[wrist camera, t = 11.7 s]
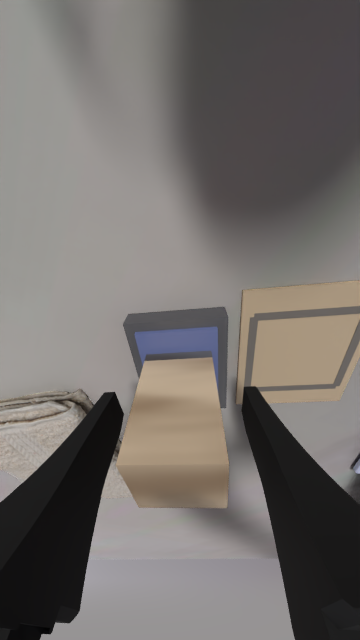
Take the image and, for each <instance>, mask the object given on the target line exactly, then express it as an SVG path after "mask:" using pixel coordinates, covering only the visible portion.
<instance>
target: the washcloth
mask: <svg viewBox="0 0 360 640" xmlns="http://www.w3.org/2000/svg"><path fill="white" fill-rule="evenodd" d="M92 407H93V405H92V403H91V401H90V400H89V399H88V397H87V395H86V394H85V393H84V392H83V391H82V389H78V390H77V391H76V392H73V393H68V392H60V391H50V392H42V393H35V394H31V395H27V396H23V397H19V398H12V399H3V400H0V470H1V471H4V472H6V473H8V474H10V475H12V476H14V477H15V478H16V479H18V480H19V481H20V482H21V483H23V482H24V481H25V480H26V479H27V478H28V477H29V476H30V475H32V474H33V473H34V472H35V471H36V470H37V469H38V468H39V467H40V466H41V465H42V464H43V463H44V462H45V461H46V460H47V459H48V458H49V457H50V456H51V455H52V454H53V453H54V452H55V451H56V449H57V448H58V447H59V446H60V445H61V444H62V443H63V442H64V441H65V439H66V438H67V437H68V436H69V435H70V434H71V433H72V432H73V430H74V429H75V428H76V427H77V426H78V425H79V423H80V422H81V421H82V420H83V419H84V417H85V416H86V415H87V414H88V412H89V411H90V410H91V409H92ZM121 444H122V443H121V442H120V440H119V439H118V442H117V445H116V448H115V452H114V455H113V458H112V461H111V464H110V467H109V470H108V474H107V477H106V480H105V484H104V487H103V491H102V495H101V498H102V497H104V498H109V499H110V498H122V497H123V498H124V497H126V498H127V497H132V494H131V492H130V490H129V489H128V487H127V485H126V483H125V481H124V480H123V478H122V476H121V474H120V472H119V471H118V469H117V467H116V462H117V458H118V455H119V451H120V448H121Z"/></svg>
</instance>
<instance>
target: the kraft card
mask: <svg viewBox="0 0 360 640" xmlns="http://www.w3.org/2000/svg"><path fill="white" fill-rule="evenodd" d="M359 357H360V280H358V281H346V282H334V283H322V284H310V285H298V286H286V287H274V288H262V289H250V290H242V304H241V321H240V338H239V355H238V372H237V389H236V404H242V401H243V389H244V387H247V386H256V387H257V388H258V390H259V391H260V393H261V394H262V396H263V397H264V399H265V400H266V402H267V403H290V402H318V401H339V400H340V398H341V396H342V394H343V392H344V390H345V388H346V385H347V383H348V381H349V379H350V377H351V375H352V372H353V370H354V368H355V366H356V364H357V362H358V360H359Z"/></svg>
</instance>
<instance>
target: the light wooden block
mask: <svg viewBox="0 0 360 640" xmlns="http://www.w3.org/2000/svg"><path fill="white" fill-rule="evenodd" d="M116 467H117V469H118V471H119V472H120V474H121V476H122V478H123V480H124V481H125V483H126V485H127V487H128V489H129V490H130V492H131V494H132V496H133V498H134V499H135V501H136V503H137V505H138V507H139V508H227V504H228V481H229V459H228V453H227V447H226V440H225V434H224V428H223V421H222V415H221V409H220V402H219V396H218V390H217V383H216V377H215V371H214V364H213V358H212V352H211V351H196V352H179V353H162V354H146V357H145V361H144V364H143V368H142V372H141V375H140V379H139V382H138V386H137V390H136V393H135V397H134V400H133V404H132V408H131V411H130V415H129V419H128V422H127V426H126V429H125V433H124V437H123V440H122V444H121V448H120V451H119V455H118V458H117V462H116Z"/></svg>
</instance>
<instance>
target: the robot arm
mask: <svg viewBox="0 0 360 640" xmlns="http://www.w3.org/2000/svg"><path fill="white" fill-rule="evenodd" d="M242 415H243V420H244V424H245V429H246V433H247V436H248V439H249V443H250V446H251V449H252V452H253V456H254V459H255V462H256V465H257V469H258V472H259V475H260V478H261V482H262V486H263V489H264V494H265V498H266V502H267V507H268V511H269V515H270V520H271V525H272V529H273V534H274V538H275V543H276V548H277V553H278V558H279V562H280V567H281V572H282V576H283V582H284V587H285V592H286V597H287V603H288V607H289V613H290V618H291V624H292V629H293V633H294V637H295V640H360V505H359V504H358V503H357V502H356V501H355V500H354V499H353V498H352V497H351V496H350V495H349V494H348V493H347V492H345V491H344V490H343V489H342V488H341V487H340V486H339V485H338V484H337V483H336V482H335V481H334V480H333V479H332V478H331V477H330V476H329V475H328V474H327V473H326V472H325V471H324V470H323V469H322V468H321V467H320V466H319V465H318V464H317V462H316V461H315V460H314V459H313V458H312V457H311V456H310V455H309V454H308V453H307V452H306V451H305V449H304V448H303V447H302V446H301V445H300V444H299V443H298V441H297V440H296V439H295V438H294V437H293V436H292V434H291V433H290V432H289V431H288V429H287V428H286V427H285V426H284V424H283V423H282V422H281V421H280V419H279V418H278V417H277V415H276V414H275V413H274V411H273V410H272V409H271V407H270V406H269V404H268V403H267V402H266V400H265V399H264V397H263V396H262V394H261V393H260V391H259V390H258V388H257V387H256V386H247V387H244V389H243V401H242ZM123 416H124V413H123V411H122V408H121V406H120V404H119V401H118V399H117V396H116V394H115V392H106V393H104V394H103V395H102V396H101V398H100V399H99V400H98V401H97V402H96V404H95V405H94V406H93V407H92V409H91V410H90V411H89V412H88V414H87V415H86V416H85V417H84V419H83V420H82V421H81V422H80V423H79V425H78V426H77V427H76V428H75V429H74V430H73V432H72V433H71V434H70V435H69V436H68V437H67V438H66V439H65V441H64V442H63V443H62V444H61V445H60V446H59V447H58V448H57V449H56V451H55V452H54V453H53V454H52V455H51V456H50V457H49V458H48V459H47V460H46V461H45V462H44V463H43V464H42V465H41V466H40V467H39V468H38V469H37V470H36V471H35V472H34V473H33V474H32V475H30V476H29V477H28V478H27V479H26V480H25V481H24V482H23V483H22V484H21V485H20V486H19V487H17V488H16V489H15V490H14V491H13V492H12V493H11V494H10V495H9V496H7V497H6V498H5V499H4V500H3V501H2V502H0V640H40V637H41V634H51V633H52V631H53V627H54V624H55V622H57V623H70V622H71V621H72V620H73V619H74V618H75V617H76V616H77V614H78V612H79V611H80V604H81V598H82V591H83V586H84V580H85V574H86V568H87V562H88V557H89V552H90V547H91V542H92V536H93V532H94V527H95V522H96V517H97V513H98V508H99V504H100V500H101V495H102V491H103V487H104V484H105V480H106V477H107V474H108V470H109V467H110V464H111V461H112V458H113V455H114V452H115V448H116V445H117V442H118V439H119V435H120V432H121V427H122V422H123ZM353 469H354V471H355V472H356V473H358V474H360V459H359V460H358V462H357V463H356V464H355V466H354V467H353Z"/></svg>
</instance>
